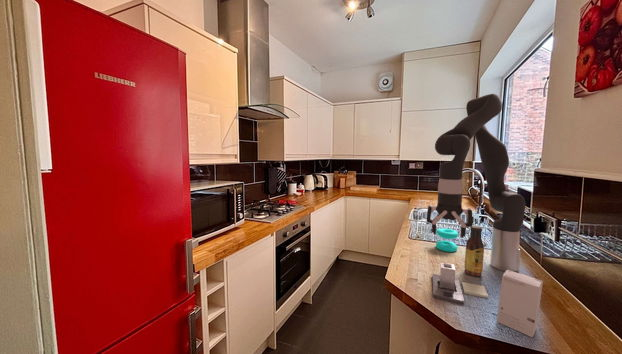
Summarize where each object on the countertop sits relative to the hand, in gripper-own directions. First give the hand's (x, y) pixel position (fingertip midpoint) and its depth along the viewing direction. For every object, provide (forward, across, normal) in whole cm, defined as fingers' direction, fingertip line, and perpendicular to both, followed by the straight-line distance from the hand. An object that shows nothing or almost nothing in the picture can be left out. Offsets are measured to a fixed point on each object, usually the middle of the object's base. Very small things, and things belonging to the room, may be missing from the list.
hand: (447, 235), depth 87 cm
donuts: (+20, -3, -43) cm, 48 cm away
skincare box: (+20, -18, +13) cm, 30 cm away
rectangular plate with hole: (+20, 0, 0) cm, 20 cm away
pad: (+20, -9, -3) cm, 22 cm away
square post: (+20, 0, 0) cm, 20 cm away
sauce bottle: (+20, -11, -18) cm, 29 cm away
